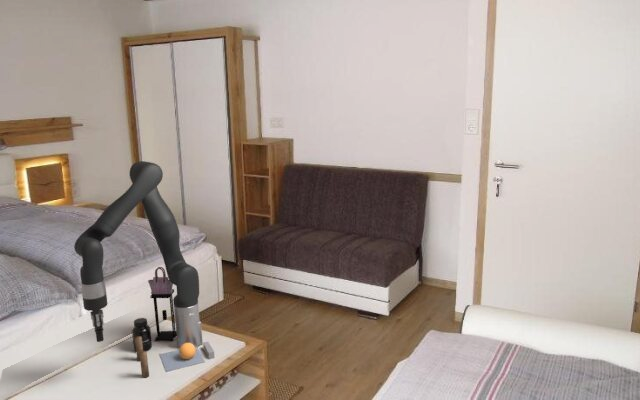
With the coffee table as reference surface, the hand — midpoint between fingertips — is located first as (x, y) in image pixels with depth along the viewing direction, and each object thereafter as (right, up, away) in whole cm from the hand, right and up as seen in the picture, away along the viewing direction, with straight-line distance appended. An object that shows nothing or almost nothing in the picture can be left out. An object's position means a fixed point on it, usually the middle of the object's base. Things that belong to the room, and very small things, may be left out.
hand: (100, 340), depth 182 cm
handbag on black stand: (+14, -7, +32) cm, 36 cm away
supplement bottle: (+7, -9, +23) cm, 26 cm away
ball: (+27, -8, +14) cm, 31 cm away
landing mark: (+25, -11, +14) cm, 30 cm away
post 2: (+15, -13, +3) cm, 20 cm away
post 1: (+9, -11, +14) cm, 20 cm away
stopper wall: (+34, -10, +18) cm, 40 cm away
